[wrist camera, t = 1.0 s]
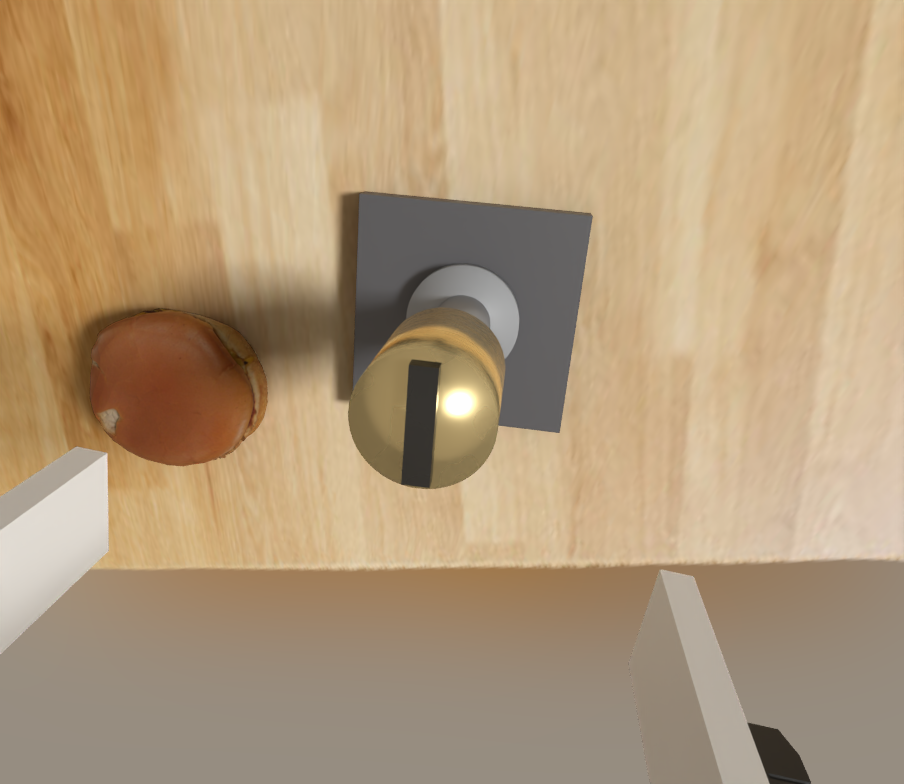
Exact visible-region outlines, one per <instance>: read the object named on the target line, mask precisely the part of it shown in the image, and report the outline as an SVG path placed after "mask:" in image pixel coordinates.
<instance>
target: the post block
mask: <svg viewBox="0 0 904 784" xmlns="http://www.w3.org/2000/svg"><path fill="white" fill-rule="evenodd" d="M592 217H593V216H592V215H591V213H582V212H572V211H562V210H551V209H541V208H531V207H520V206H510V205H500V204H490V203H479V202H469V201H459V200H448V199H438V198H428V197H417V196H407V195H397V194H386V193H376V192H363V193H360V194H359V222H358V252H357V281H356V311H355V341H354V371H353V390H354V387H355V385H356V383H357V382H358V380H359V378H360V377H361V376H362V374H363V373H364V372H365V370H366V369H367V368H368V366H369V365H370V364H371V362H372V361H373V360H374V358H375V357H376V355H377V354H378V353H379V351H380V350H381V349H382V347H383V346H384V345H385V343H386V342H387V341H388V339H389V338H390V337H391V335H392V334H393V333H394V331H395V330H396V329H397V328H398V326H399V325H400V324H401V323H402V322H403V321H405V320H406V319H407V318H409V317H410V316H412V315H414V314H416V313H418V312H421V311H423V310H427V309H431V308H440V307H443V308H453V309H458V310H461V311H465V312H467V313H469V314H471V315H473V316H475V317H477V318H478V319H480V320H481V321H482V322H483V323H485V324H486V325H487V326H488V327H489V328H490V329H491V330H492V332H493V333H494V335H495V336H496V337H497V339H498V341H499V343H500V345H501V348H502V350H503V354H504V358H505V378H504V386H503V393H502V401H501V409H500V416H499V424H498V425H499V426H507V427H516V428H524V429H532V430H540V431H548V432H556V433H560V426H561V420H562V413H563V406H564V400H565V393H566V387H567V380H568V374H569V367H570V361H571V354H572V348H573V341H574V334H575V328H576V321H577V315H578V308H579V302H580V295H581V289H582V282H583V276H584V269H585V262H586V256H587V249H588V243H589V236H590V230H591V223H592Z"/></svg>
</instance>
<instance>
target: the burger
mask: <svg viewBox="0 0 904 784" xmlns="http://www.w3.org/2000/svg"><path fill="white" fill-rule="evenodd" d="M97 336H98V339H97V341H96V343H95V345H94V347H93V348H92V352H91V358H92V360H93V362H92V368H91V375H90V400H91V404H92V408H93V412H94V415H95V416H96V418H97V419H98V421H99V422H100V424H101V426H102V427H103V429H104V430H105V431H106V433H107V434H108V435H109V436H110V437H111V438H112V439H113V440H114V441H115V442H116V443H118V444H119V445H121V446H122V447H123V448H125V449H126V450H127V451H129V452H131V453H133V454H135V455H137V456H139V457H141V458H144V459H147V460H150V461H154V462H158V463H162V464H166V465H175V466H186V465H192V464H199V463H205V462H208V461H211V460H216V459H217V458H218V457H219V458H226V457H225V455H227V454H230V453H231V452H233V451H234V450H235V449H236V448H237V447H238V446H239V445H240V443H241V442H242V441H244V440H245V439H246V437H247V436H249V435H250V434H252V433H253V432H254V431H255V430H256V429H257V427H258V426H259V425H260V423H261V421H262V419H263V418H264V414H265V410H266V406H267V402H268V401H267V394H268V392H267V381H266V376H265V374H264V371H263V369H262V366H261V364H260V362H259V360H258V358H257V355H256V354H255V352H254V351H253V349H252V347H251V346H250V345H249V344H248V342H247V341H246V340H245V338H244V337H243V336H242V335H241V334H240V333H239V332H238V331H236V330H235V329H233V328H231V327H229V326H228V325H226V324H223V323H220V322H218V321H215V320H213V319H210V318H207V317H204V316H200V315H197V314H193V313H188V312H182V311H176V310H169V309H156V310H154V311H144V310H143V312H141V313H139V314H137V315H135V316H133V317H128V318H125V319H122V320H120V321H117V322H114V323H112V324H111V325H109V326H107V327H106V328H104V329H103V330H101V331H100V332H99V333H98V335H97Z"/></svg>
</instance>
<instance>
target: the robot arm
mask: <svg viewBox="0 0 904 784" xmlns="http://www.w3.org/2000/svg"><path fill="white" fill-rule="evenodd" d="M108 551H109V543H108V472H107V453H105V452H100V451H95V450H90V449H86V448H81V447H75V448H73V449H72V450H70V451H69V452H67V453H66V454H64V455H63V456H61V457H60V458H58V459H57V460H55V461H54V462H52V463H51V464H49V465H48V466H46V467H45V468H43V469H42V470H40V471H38V472H37V473H35V474H34V475H32V476H31V477H29V478H28V479H26V480H25V481H23V482H22V483H20V484H19V485H17V486H16V487H14V488H13V489H11V490H10V491H8V492H7V493H5V494H4V495H2V496H1V497H0V654H1V653H2V652H3V651H4V650H5V649H6V648H7V647H8V646H9V645H10V644H12V643H13V642H14V641H15V640H16V639H17V638H18V637H19V636H20V635H21V634H22V633H23V632H24V631H25V630H26V629H27V628H28V627H29V626H30V625H31V624H32V623H34V622H35V620H37V619H38V618H39V617H40V616H41V615H42V614H43V613H44V612H45V611H46V610H47V609H48V608H49V607H50V606H51V605H52V604H53V603H54V602H55V601H57V599H59V598H60V597H61V596H62V595H63V594H64V593H65V592H66V591H67V590H68V589H69V588H70V587H71V586H72V585H73V584H74V583H75V582H76V581H77V580H79V579H80V578H81V577H82V576H83V575H84V574H85V573H86V572H87V571H88V570H89V569H90V568H91V567H92V566H93V565H94V564H95V563H96V562H97V561H98V560H99V559H101V558H102V557H103V556H104V555H105V554H106V553H107V552H108ZM628 665H629V670H630V676H631V681H632V687H633V693H634V698H635V703H636V709H637V715H638V720H639V726H640V732H641V737H642V742H643V748H644V754H645V759H646V765H647V770H648V776H649V781H650V784H811V781H810V779H809V776H808V774H807V772H806V770H805V767H804V765H803V763H802V760H801V758H800V756H799V754H798V753H797V752H796V751H795V749H794V748H793V747H792V746H791V745H790V743H789V742H788V741H787V740H786V739H785V737H784V736H783V735H782V734H781V732H780V731H779V730H778V729H774V728H769V727H765V726H760V725H755V724H751V723H747V721H746V718H745V715H744V713H743V710H742V707H741V705H740V702H739V699H738V696H737V694H736V691H735V688H734V686H733V683H732V680H731V677H730V675H729V672H728V669H727V666H726V664H725V661H724V658H723V656H722V653H721V650H720V648H719V645H718V642H717V639H716V637H715V634H714V631H713V628H712V626H711V623H710V620H709V617H708V615H707V612H706V609H705V606H704V604H703V601H702V598H701V596H700V593H699V590H698V587H697V585H696V582H695V579H694V576H689V575H684V574H679V573H674V572H670V571H665V570H660V571H659V574H658V577H657V580H656V583H655V586H654V589H653V592H652V595H651V598H650V601H649V604H648V606H647V610H646V613H645V615H644V618H643V622H642V625H641V628H640V630H639V633H638V636H637V639H636V643H635V645H634V648H633V651H632V654H631V657H630V660H629V663H628Z"/></svg>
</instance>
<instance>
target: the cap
mask: <svg viewBox="0 0 904 784" xmlns="http://www.w3.org/2000/svg"><path fill="white" fill-rule="evenodd" d="M504 378H505V358H504V354H503V350H502V348H501V345H500V343H499V341H498V339H497V337H496V336H495V335H494V333H493V332H492V330H491V329H490V328H489V327H488V326H487V325H486V324H485V323H483V322H482V321H481V320H480V319H478V318H477V317H475V316H473V315H471V314H469V313H467V312H465V311H461V310H458V309H453V308H443V307H440V308H431V309H427V310H423V311H421V312H418V313H416V314H414V315H412V316H410V317H409V318H407V319H406V320H405V321H403V322H402V323H401V324H400V325H399V326H398V328H397V329H396V330H395V331H394V333H393V334H392V335H391V337H390V338H389V339H388V341H387V342H386V343H385V345H384V346H383V347H382V349H381V350H380V351H379V353H378V354H377V355H376V357H375V358H374V360H373V361H372V362H371V364H370V365H369V366H368V368H367V369H366V370H365V372H364V373H363V374H362V376H361V377H360V378H359V380H358V382H357V383H356V385H355V387H354V390H353V392H352V394H351V398H350V402H349V411H348V417H349V426H350V431H351V434H352V438H353V440H354V442H355V445H356V447H357V449H358V450H359V452H360V453H361V455H362V456H363V457H364V459H365V460H366V461H367V462H368V463H369V464H370V465H371V466H372V467H373V468H374V469H375V470H376V471H378V472H379V473H380V474H382V475H383V476H385V477H386V478H388V479H390V480H392V481H394V482H396V483H399V484H402V485H405V486H408V487H414V488H421V489H436V488H442V487H447V486H450V485H454V484H456V483H458V482H461V481H463V480H464V479H466V478H468V477H469V476H471V475H472V474H473V473H475V472H476V471H477V470H478V469H479V468H480V467H481V466H482V465H483V464H484V462H485V461H486V460H487V458H488V457H489V455H490V453H491V451H492V449H493V447H494V444H495V441H496V436H497V431H498V424H499V416H500V409H501V401H502V393H503V386H504Z"/></svg>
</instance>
